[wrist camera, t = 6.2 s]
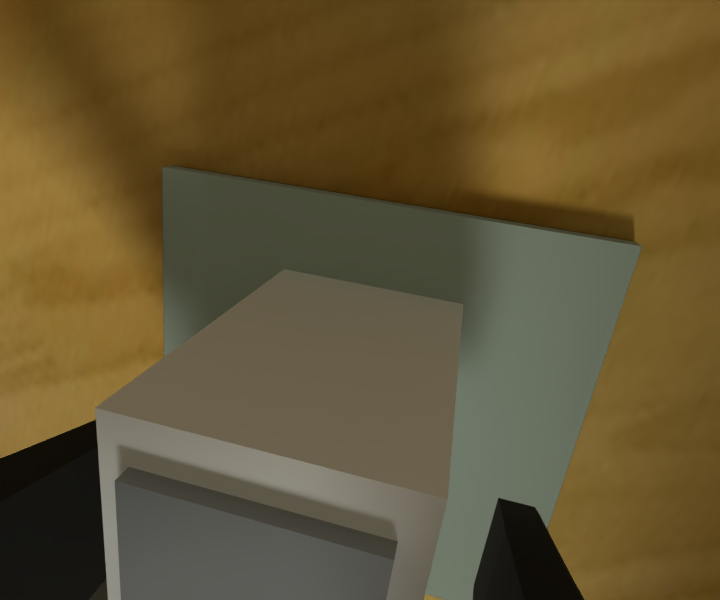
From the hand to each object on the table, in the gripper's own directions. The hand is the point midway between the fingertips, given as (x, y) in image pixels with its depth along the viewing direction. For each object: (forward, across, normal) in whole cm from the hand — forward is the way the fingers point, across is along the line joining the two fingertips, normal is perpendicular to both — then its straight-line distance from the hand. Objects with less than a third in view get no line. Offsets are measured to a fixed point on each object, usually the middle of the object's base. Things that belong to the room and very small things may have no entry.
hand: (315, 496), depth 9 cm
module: (+3, 0, 0) cm, 3 cm away
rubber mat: (+3, 0, 0) cm, 3 cm away
